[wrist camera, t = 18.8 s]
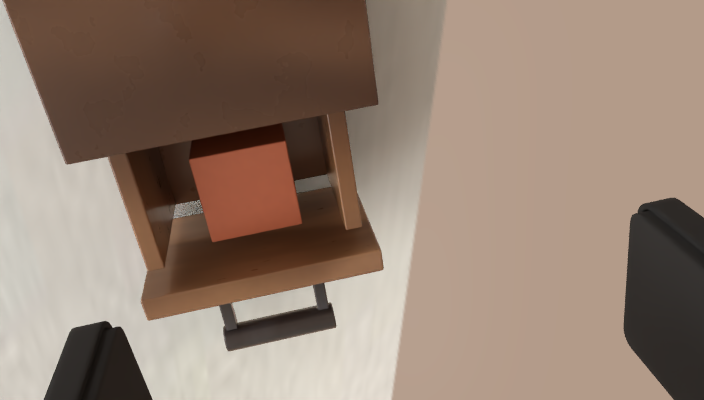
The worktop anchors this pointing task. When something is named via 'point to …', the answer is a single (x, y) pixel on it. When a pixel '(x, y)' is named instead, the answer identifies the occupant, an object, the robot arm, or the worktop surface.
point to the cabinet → (189, 67)
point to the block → (245, 182)
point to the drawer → (249, 237)
